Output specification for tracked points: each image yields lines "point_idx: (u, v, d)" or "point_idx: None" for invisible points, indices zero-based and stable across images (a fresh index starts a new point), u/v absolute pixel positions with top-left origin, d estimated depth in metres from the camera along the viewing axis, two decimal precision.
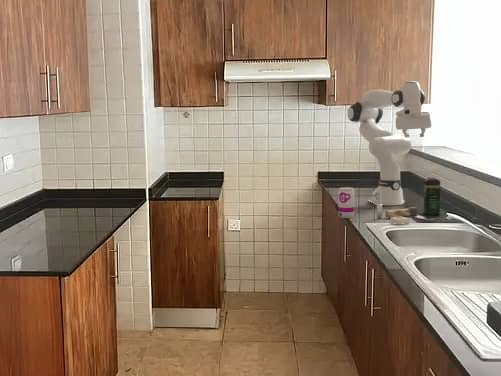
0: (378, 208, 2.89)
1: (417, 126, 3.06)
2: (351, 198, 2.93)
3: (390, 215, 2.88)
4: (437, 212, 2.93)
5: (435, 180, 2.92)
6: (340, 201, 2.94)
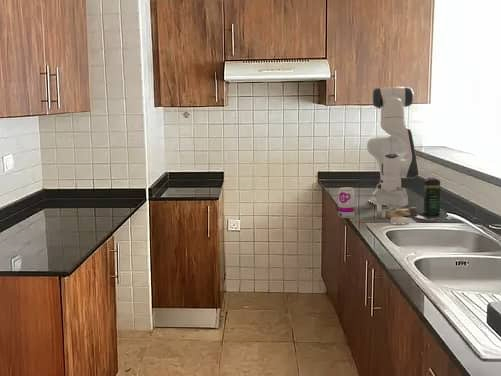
0: (378, 208, 2.89)
1: (390, 202, 2.91)
2: (351, 198, 2.93)
3: (390, 215, 2.88)
4: (437, 212, 2.93)
5: (435, 180, 2.92)
6: (340, 201, 2.94)
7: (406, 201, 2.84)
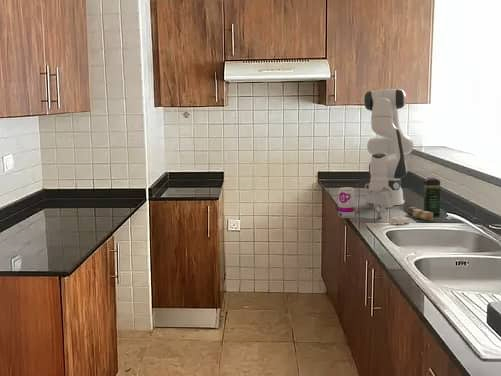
0: (378, 208, 2.89)
1: (377, 203, 2.88)
2: (351, 198, 2.93)
3: None
4: (437, 212, 2.93)
5: (435, 180, 2.92)
6: (340, 201, 2.94)
7: (391, 202, 2.80)
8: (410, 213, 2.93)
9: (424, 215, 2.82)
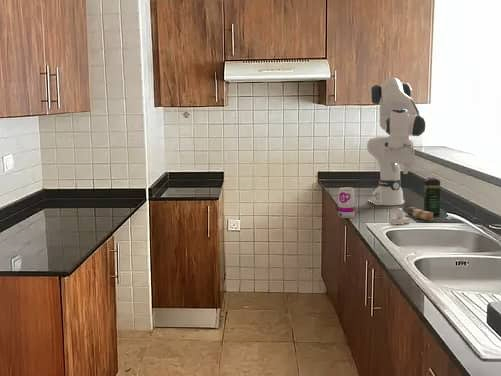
0: (398, 212, 2.74)
1: (397, 161, 2.70)
2: (351, 198, 2.93)
3: None
4: (437, 212, 2.93)
5: (435, 180, 2.92)
6: (340, 201, 2.94)
7: (413, 159, 2.63)
8: (410, 213, 2.93)
9: (424, 215, 2.82)
